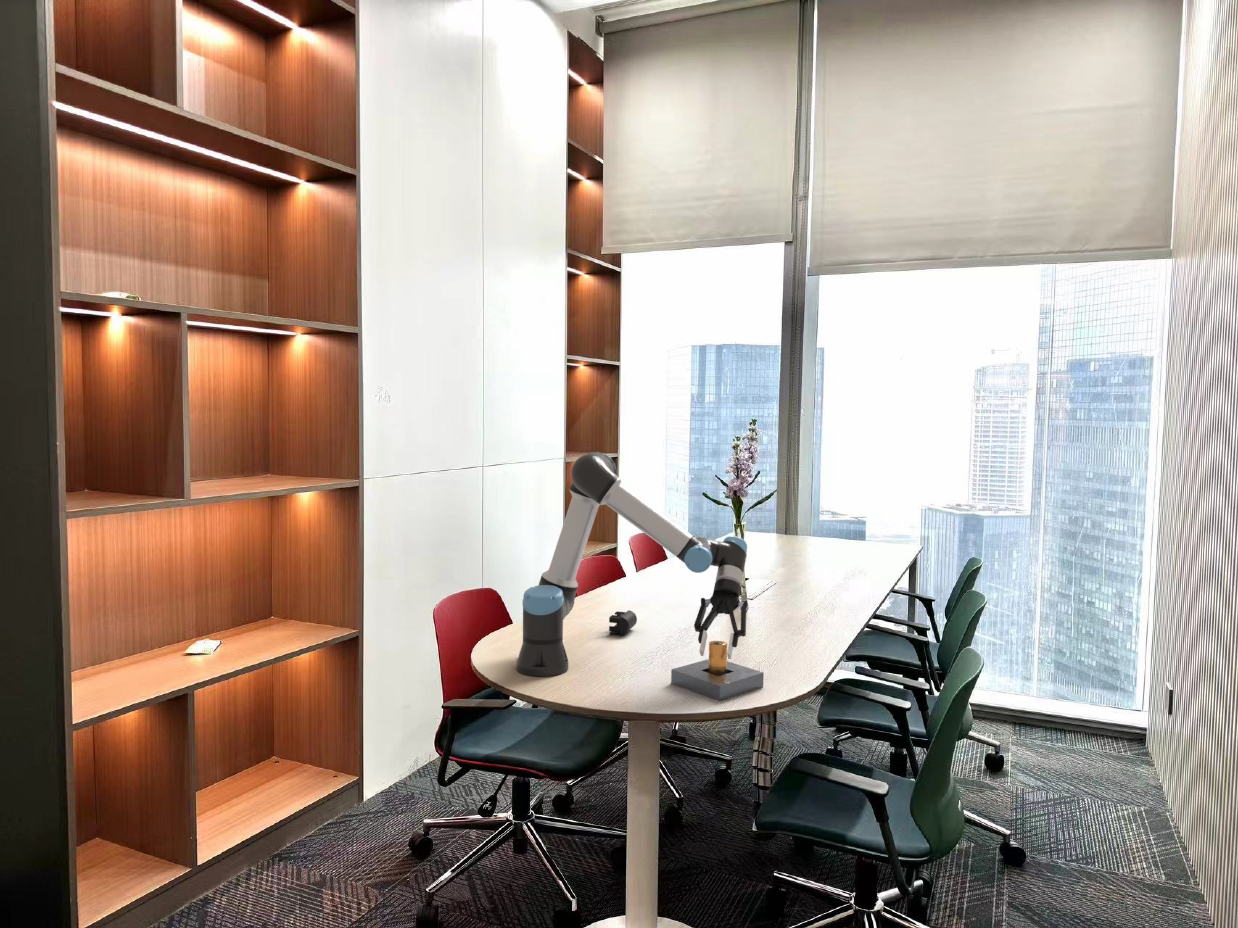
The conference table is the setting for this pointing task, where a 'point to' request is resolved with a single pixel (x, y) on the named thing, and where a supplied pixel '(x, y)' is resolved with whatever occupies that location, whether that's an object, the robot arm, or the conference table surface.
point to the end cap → (622, 622)
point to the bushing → (717, 658)
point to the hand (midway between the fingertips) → (715, 654)
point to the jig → (717, 680)
